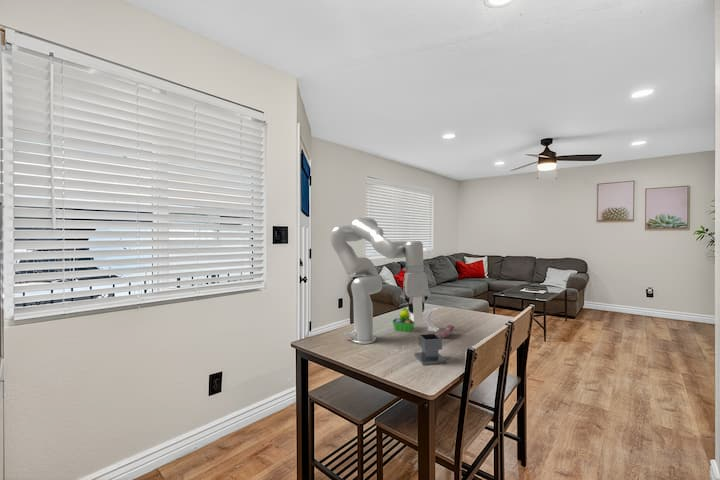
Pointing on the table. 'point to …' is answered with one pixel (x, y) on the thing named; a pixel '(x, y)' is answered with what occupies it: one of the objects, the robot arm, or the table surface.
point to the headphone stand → (428, 321)
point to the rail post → (417, 309)
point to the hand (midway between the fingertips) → (416, 311)
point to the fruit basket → (403, 322)
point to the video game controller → (446, 331)
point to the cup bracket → (430, 349)
